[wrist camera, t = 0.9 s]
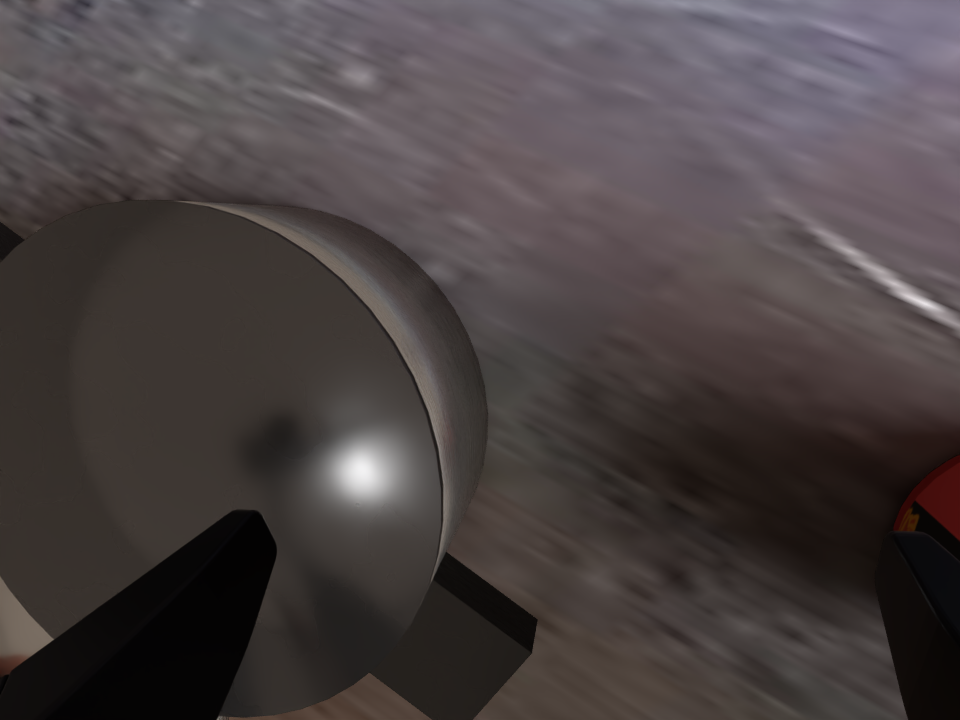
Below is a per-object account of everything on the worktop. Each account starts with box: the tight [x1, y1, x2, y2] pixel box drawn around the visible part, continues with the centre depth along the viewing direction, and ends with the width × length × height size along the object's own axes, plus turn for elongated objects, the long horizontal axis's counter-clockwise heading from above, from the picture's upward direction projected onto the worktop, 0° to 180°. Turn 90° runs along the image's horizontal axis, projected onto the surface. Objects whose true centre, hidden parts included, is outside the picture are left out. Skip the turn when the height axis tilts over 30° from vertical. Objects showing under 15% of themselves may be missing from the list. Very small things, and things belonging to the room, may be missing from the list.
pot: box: [0, 200, 538, 720], centre depth 22 cm, size 23×16×7 cm
